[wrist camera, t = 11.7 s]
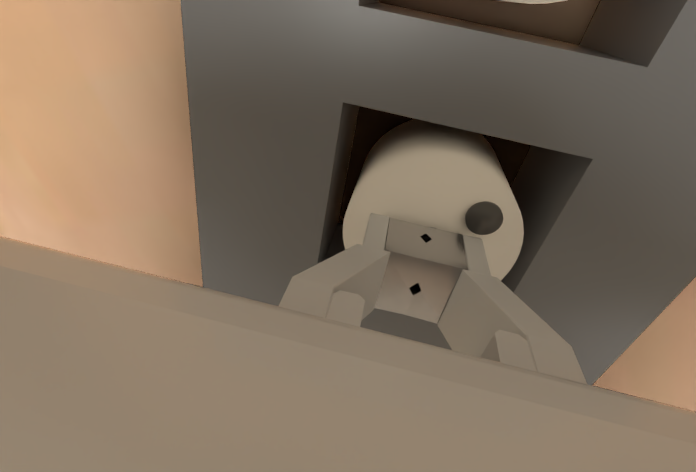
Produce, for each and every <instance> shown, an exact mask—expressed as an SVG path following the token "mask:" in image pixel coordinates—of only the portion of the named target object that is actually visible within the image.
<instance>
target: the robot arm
mask: <svg viewBox="0 0 696 472" xmlns="http://www.w3.org/2000/svg"><path fill="white" fill-rule="evenodd" d="M374 308H377V309H381V310H386V311H390V312H395V313H399V314H404V315H408V316H411V317H415V318H419V319H422V320H426V321H429V322H433V323H437V324H438V327H439V329H440V330H441V332H442V334H443V335H444V337H445V339H446V340H447V342H448V344H449V345H450V347H451V349H452V350H449V349H445V348H441V347H437V346H434V345H430V344H426V343H422V342H418V341H414V340H410V339H406V338H402V337H398V336H394V335H390V334H386V333H382V332H378V331H374V330H370V329H366V328H362V327H360V325H361V321H362V320H363V319H364V318H365V317H366V316H367V315H368V314H369V313H371V312H372V311H373V310H374ZM0 472H696V412H695V411H691V410H687V409H683V408H679V407H675V406H671V405H667V404H663V403H659V402H655V401H651V400H647V399H643V398H640V397H636V396H632V395H628V394H624V393H620V392H616V391H612V390H608V389H604V388H600V387H596V386H592V385H588V384H587V382H586V380H585V377H584V375H583V373H582V370H581V368H580V365H579V363H578V361H577V358H576V356H575V353H574V351H573V349H572V346H571V345H570V344H568V343H567V342H566V341H565V340H564V339H563V338H562V337H561V336H560V335H559V334H558V333H557V332H555V331H554V330H553V329H552V328H551V327H550V326H549V325H548V324H547V323H546V322H545V321H544V320H542V319H541V318H540V317H539V316H538V315H537V314H536V313H535V312H534V311H533V310H532V309H531V308H529V307H528V306H527V305H526V304H525V303H524V302H523V301H522V300H521V299H520V298H519V297H518V296H516V295H515V294H514V293H513V292H512V291H511V290H510V289H509V288H508V287H507V286H506V285H505V284H503V283H502V282H501V281H500V280H499V279H498V278H497V277H493V276H491V273H490V269H489V265H488V261H487V257H486V253H485V249H484V245H483V241H482V239H480V238H477V237H472V236H467V235H462V234H458V233H453V232H449V231H444V230H439V229H434V228H430V227H426V226H422V225H418V224H414V223H411V222H407V221H403V220H399V219H395V218H391V217H388V216H384V215H379V214H374V213H371V214H370V216H369V220H368V224H367V228H366V232H365V236H364V240H363V244H362V245H360V244H356V245H354V246H352V247H350V248H348V249H346V250H344V251H342V252H340V253H338V254H336V255H334V256H332V257H330V258H328V259H326V260H324V261H322V262H320V263H318V264H316V265H315V266H313V267H311V268H309V269H307V270H305V271H303V272H301V273H299V274H297V275H295V276H293V277H292V279H291V281H290V283H289V285H288V287H287V289H286V291H285V293H284V295H283V298H282V300H281V302H280V304H279V306H275V305H271V304H267V303H263V302H259V301H255V300H251V299H248V298H244V297H240V296H236V295H232V294H228V293H224V292H220V291H216V290H212V289H208V288H204V287H200V286H196V285H192V284H188V283H184V282H180V281H176V280H172V279H168V278H164V277H160V276H157V275H153V274H149V273H145V272H141V271H137V270H133V269H129V268H125V267H121V266H117V265H113V264H109V263H105V262H101V261H97V260H93V259H89V258H85V257H81V256H77V255H73V254H69V253H65V252H61V251H57V250H53V249H50V248H46V247H42V246H38V245H34V244H30V243H26V242H22V241H18V240H14V239H10V238H6V237H2V236H0Z"/></svg>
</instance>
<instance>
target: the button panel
mask: <svg viewBox="0 0 696 472" xmlns="http://www.w3.org/2000/svg"><path fill="white" fill-rule="evenodd" d="M181 12H182V25H183V37H184V50H185V63H186V76H187V88H188V101H189V114H190V126H191V139H192V152H193V165H194V177H195V190H196V203H197V215H198V228H199V241H200V254H201V266H202V279H203V287H204V288H208V289H212V290H216V291H220V292H224V293H228V294H232V295H236V296H240V297H244V298H248V299H251V300H255V301H259V302H263V303H267V304H271V305H275V306H279V304H280V302H281V300H282V298H283V295H284V293H285V291H286V289H287V287H288V285H289V283H290V281H291V279H292V277H293V276H295V275H297V274H299V273H301V272H303V271H305V270H307V269H309V268H311V267H313V266H315V265H316V264H318V263H320V262H322V261H324V260H326V259H328V258H330V257H332V256H334V255H336V254H338V253H340V252H342V251H344V250H345V247H344V242H343V224H341V223H338V220H339V215H340V209H341V204H342V198H343V193H344V188H345V182H346V177H347V171H348V166H349V161H350V155H351V150H352V144H353V139H354V134H355V128H356V123H357V117H358V112H359V107H360V106H362V107H366V108H370V109H375V110H379V111H384V112H388V113H392V114H397V115H401V116H406V117H410V118H414V119H419V120H423V121H427V122H432V123H436V124H441V125H445V126H449V127H454V128H458V129H463V130H467V131H471V132H476V133H480V134H485V135H489V136H493V137H498V138H502V139H507V140H511V141H515V142H520V143H524V144H529V145H531V147H530V149H529V151H528V153H527V155H526V157H525V159H524V161H523V163H522V165H521V167H520V170H519V172H518V174H517V176H516V178H515V180H514V182H513V184H512V186H511V190H512V193H513V195H514V197H515V200H516V202H517V204H518V207H519V209H520V212H521V215H522V220H523V228H524V236H523V244H522V247H521V251H520V254H519V256H518V258H517V260H516V262H515V264H514V265H513V267H512V268H511V270H510V271H509V272H508V273H507V275H506V276H505V277H504V278H503V279H502V280H501V282H502V283H503V284H505V285H506V286H507V287H508V288H509V289H510V290H511V291H512V292H513V293H514V294H515V295H516V296H518V297H519V298H520V299H521V300H522V301H523V302H524V303H525V304H526V305H527V306H528V307H529V308H531V309H532V310H533V311H534V312H535V313H536V314H537V315H538V316H539V317H540V318H541V319H542V320H544V321H545V322H546V323H547V324H548V325H549V326H550V327H551V328H552V329H553V330H554V331H555V332H557V333H558V334H559V335H560V336H561V337H562V338H563V339H564V340H565V341H566V342H567V343H568V344H570V345H571V346H572V349H573V351H574V353H575V356H576V358H577V361H578V363H579V365H580V368H581V370H582V373H583V375H584V377H585V380H586V382H587V384H588V385H592V384H593V383H594V382H595V381H596V380H597V379H598V378H599V377H600V376H601V375H602V374H603V373H604V372H605V371H606V370H607V369H608V368H609V367H610V366H611V365H612V364H613V363H614V361H615V360H616V359H617V358H618V357H619V356H620V355H621V354H622V353H623V352H624V351H625V350H626V349H627V348H628V347H629V346H630V345H631V344H632V343H633V342H634V341H635V340H636V339H637V337H638V336H639V335H640V334H641V333H642V332H643V331H644V330H645V329H646V328H647V327H648V326H649V325H650V324H651V323H652V322H653V321H654V320H655V319H656V318H657V317H658V316H659V314H660V313H661V312H662V311H663V310H664V309H665V308H666V307H667V306H668V305H669V304H670V303H671V302H672V301H673V300H674V299H675V298H676V297H677V296H678V295H679V294H680V293H681V292H682V290H683V289H684V288H685V287H686V286H687V285H688V284H689V283H690V282H691V281H692V280H693V279H694V278H695V277H696V0H601V1H600V3H599V5H598V7H597V9H596V11H595V13H594V15H593V17H592V19H591V22H590V24H589V26H588V28H587V30H586V32H585V34H584V36H583V38H582V40H581V42H580V44H579V45H577V44H572V43H568V42H563V41H558V40H553V39H549V38H544V37H539V36H535V35H530V34H525V33H520V32H516V31H511V30H506V29H502V28H497V27H492V26H487V25H483V24H478V23H473V22H469V21H464V20H459V19H454V18H450V17H445V16H440V15H435V14H431V13H426V12H421V11H417V10H412V9H407V8H402V7H398V6H393V5H388V4H384V3H379V0H181ZM360 327H362V328H366V329H370V330H374V331H378V332H382V333H386V334H390V335H394V336H398V337H402V338H406V339H410V340H414V341H418V342H422V343H426V344H430V345H434V346H437V347H441V348H445V349H449V350H452V349H451V347H450V345H449V344H448V342H447V340H446V339H445V337H444V335H443V334H442V332H441V330H440V329H439V327H438V324H437V323H433V322H429V321H426V320H422V319H419V318H415V317H411V316H408V315H404V314H399V313H395V312H390V311H386V310H381V309H377V308H374V310H373V311H372V312H371V313H369V314H368V315H367V316H366V317H365V318H364V319H363V320H362V321H361V325H360Z"/></svg>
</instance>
